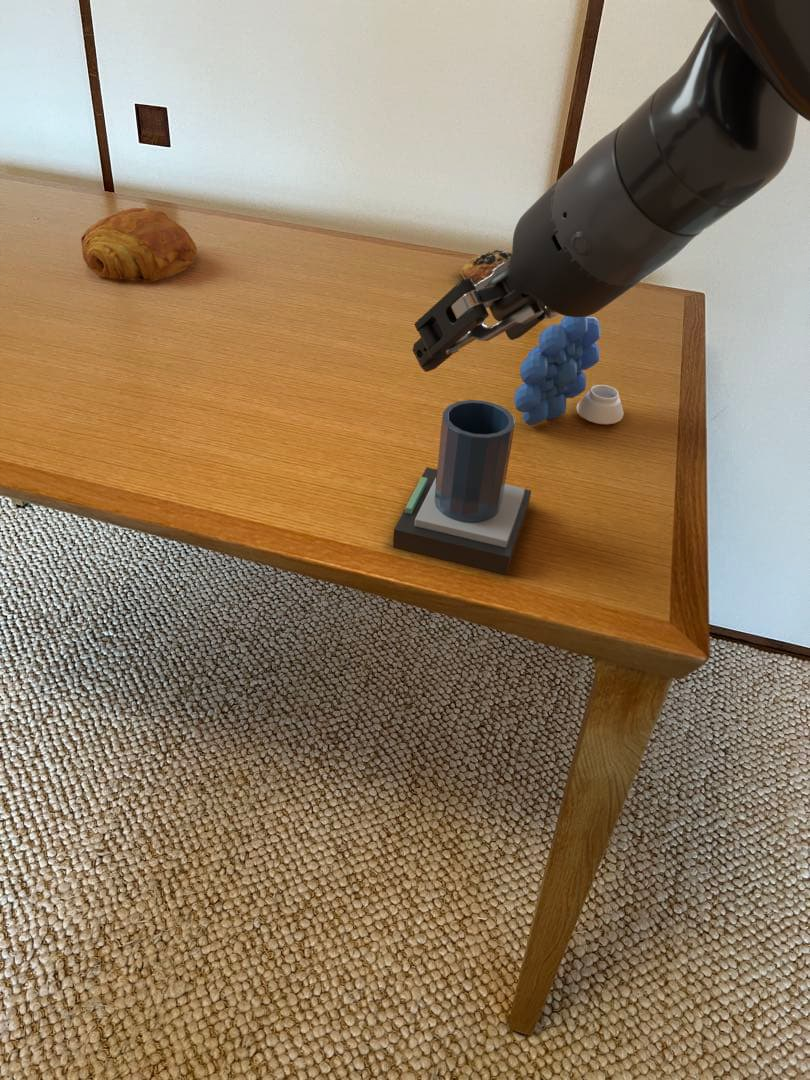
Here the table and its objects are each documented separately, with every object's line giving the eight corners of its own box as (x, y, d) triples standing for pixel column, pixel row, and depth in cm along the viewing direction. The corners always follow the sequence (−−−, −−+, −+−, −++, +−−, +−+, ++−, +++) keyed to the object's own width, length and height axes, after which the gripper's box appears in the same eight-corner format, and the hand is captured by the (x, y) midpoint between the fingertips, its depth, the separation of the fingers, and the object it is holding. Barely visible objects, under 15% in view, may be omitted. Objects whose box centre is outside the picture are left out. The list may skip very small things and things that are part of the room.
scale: (392, 547, 70) (394, 521, 68) (424, 484, 77) (427, 459, 76) (506, 575, 68) (511, 549, 66) (528, 507, 75) (532, 483, 74)
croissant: (71, 283, 113) (51, 227, 108) (147, 237, 122) (132, 183, 117) (148, 306, 108) (132, 249, 102) (222, 257, 117) (211, 201, 111)
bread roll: (517, 301, 111) (518, 264, 109) (446, 292, 116) (446, 256, 114) (549, 281, 119) (552, 245, 116) (482, 272, 124) (482, 238, 121)
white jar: (570, 419, 88) (614, 432, 87) (575, 395, 86) (621, 408, 85) (583, 399, 92) (627, 411, 90) (589, 376, 90) (633, 388, 88)
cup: (423, 510, 69) (431, 425, 64) (448, 476, 74) (458, 393, 68) (487, 530, 68) (500, 444, 62) (509, 494, 72) (523, 411, 67)
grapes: (555, 387, 94) (575, 286, 86) (600, 412, 90) (625, 309, 82) (483, 417, 88) (497, 311, 80) (528, 445, 84) (548, 337, 76)
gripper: (658, 145, 50) (511, 276, 64) (489, 185, 43) (366, 322, 57) (712, 255, 50) (553, 361, 64) (552, 312, 43) (413, 418, 57)
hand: (465, 343), depth 61 cm, fingers open, 8 cm apart
